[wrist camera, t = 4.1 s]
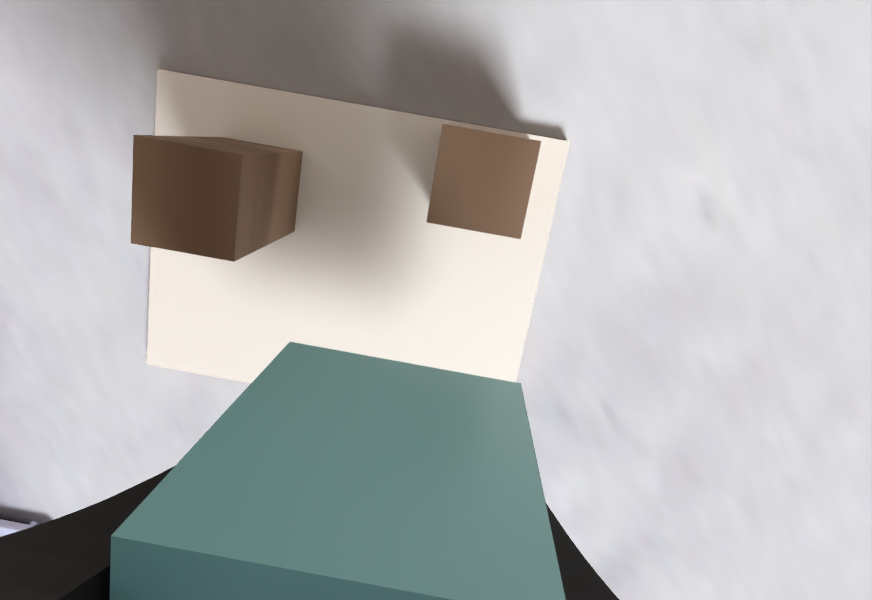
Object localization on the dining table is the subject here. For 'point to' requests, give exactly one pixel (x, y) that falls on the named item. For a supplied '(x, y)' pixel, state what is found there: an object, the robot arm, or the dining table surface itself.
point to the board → (346, 246)
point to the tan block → (482, 181)
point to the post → (212, 194)
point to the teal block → (349, 492)
